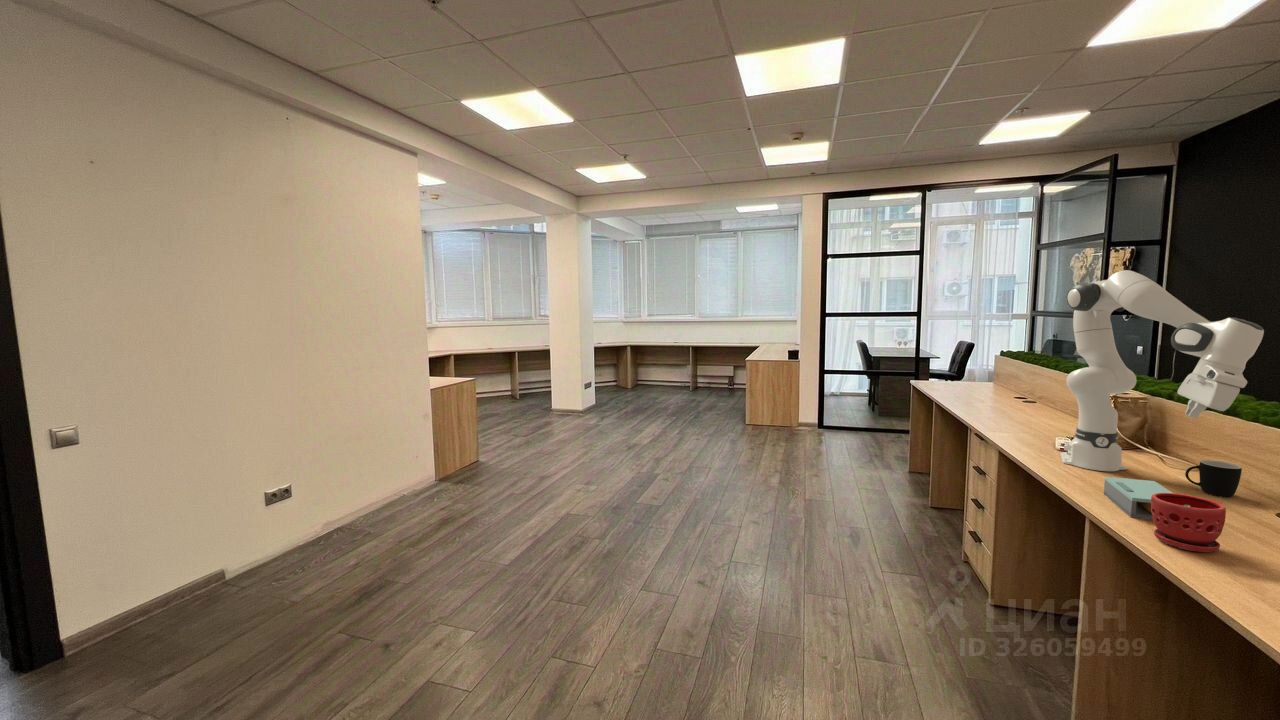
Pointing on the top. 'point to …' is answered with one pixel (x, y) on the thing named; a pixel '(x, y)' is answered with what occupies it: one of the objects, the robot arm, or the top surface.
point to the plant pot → (1187, 521)
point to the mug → (1217, 477)
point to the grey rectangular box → (1128, 503)
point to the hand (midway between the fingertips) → (1190, 416)
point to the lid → (1137, 488)
